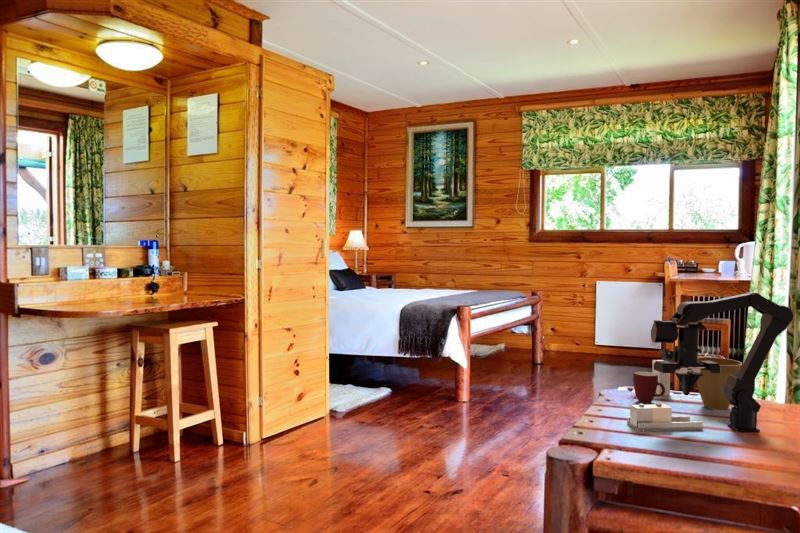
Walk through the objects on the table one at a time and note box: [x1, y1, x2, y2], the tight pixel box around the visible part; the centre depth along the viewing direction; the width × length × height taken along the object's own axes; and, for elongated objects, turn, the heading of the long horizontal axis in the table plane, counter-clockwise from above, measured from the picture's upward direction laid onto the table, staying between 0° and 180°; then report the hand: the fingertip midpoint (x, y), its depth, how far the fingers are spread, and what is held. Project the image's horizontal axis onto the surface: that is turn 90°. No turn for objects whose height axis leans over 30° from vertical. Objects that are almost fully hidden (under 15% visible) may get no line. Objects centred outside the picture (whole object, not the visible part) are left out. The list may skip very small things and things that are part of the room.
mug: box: [632, 370, 665, 404], centre depth 221 cm, size 10×8×10 cm
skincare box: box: [651, 359, 671, 396], centre depth 235 cm, size 6×4×12 cm
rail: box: [626, 403, 704, 432], centre depth 191 cm, size 20×8×7 cm, turn 98°
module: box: [647, 402, 673, 422], centre depth 190 cm, size 6×4×6 cm, turn 97°
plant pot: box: [696, 356, 743, 411], centre depth 215 cm, size 15×15×16 cm
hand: (686, 395), depth 191 cm, fingers closed
